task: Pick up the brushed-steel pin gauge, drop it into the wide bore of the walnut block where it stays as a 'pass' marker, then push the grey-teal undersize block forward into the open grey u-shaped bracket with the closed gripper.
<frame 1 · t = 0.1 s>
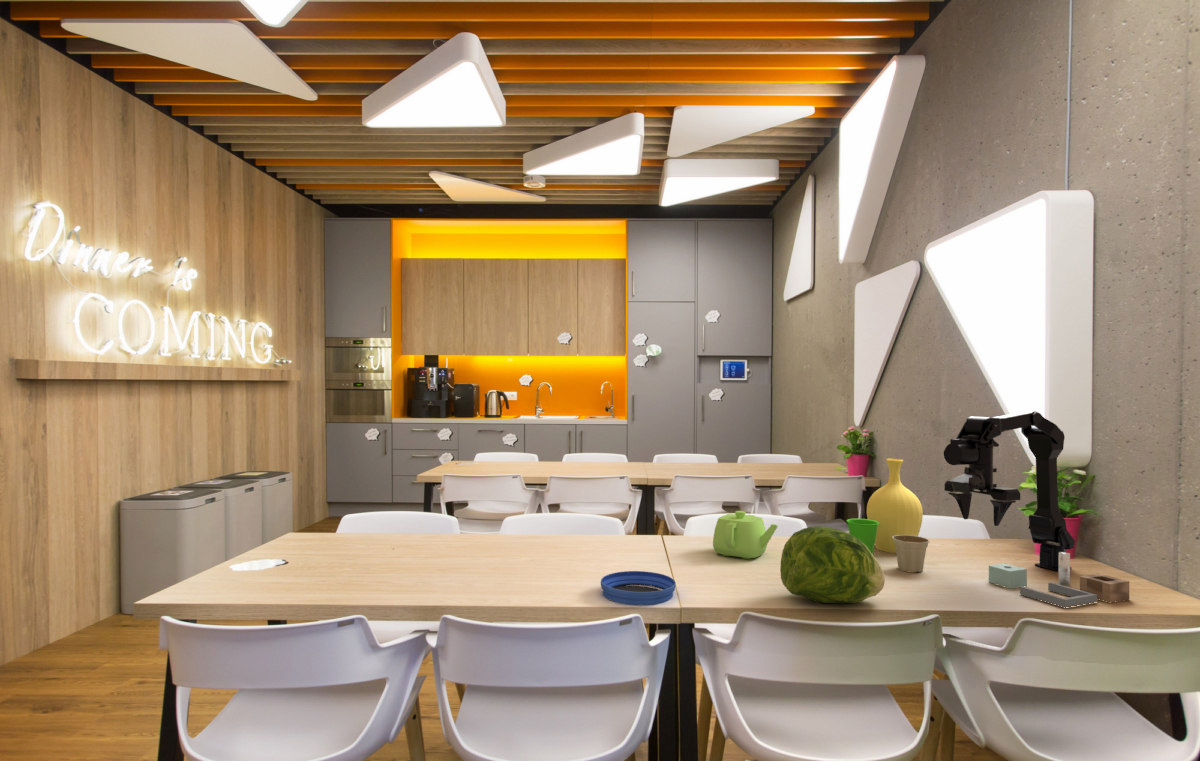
hand: (980, 522, 180), 15 cm above the table, fingers open, 9 cm apart
grey u-shaped bracket: (1057, 599, 162), on the table
vase: (894, 549, 211), on the table
pin gauge: (1064, 584, 175), on the table
bowl: (638, 596, 164), on the table
cup: (862, 559, 199), on the table
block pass: (1104, 597, 164), on the table
flower pot: (910, 570, 187), on the table
lettuce: (831, 601, 160), on the table
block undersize: (1007, 584, 174), on the table
teapot: (746, 556, 202), on the table
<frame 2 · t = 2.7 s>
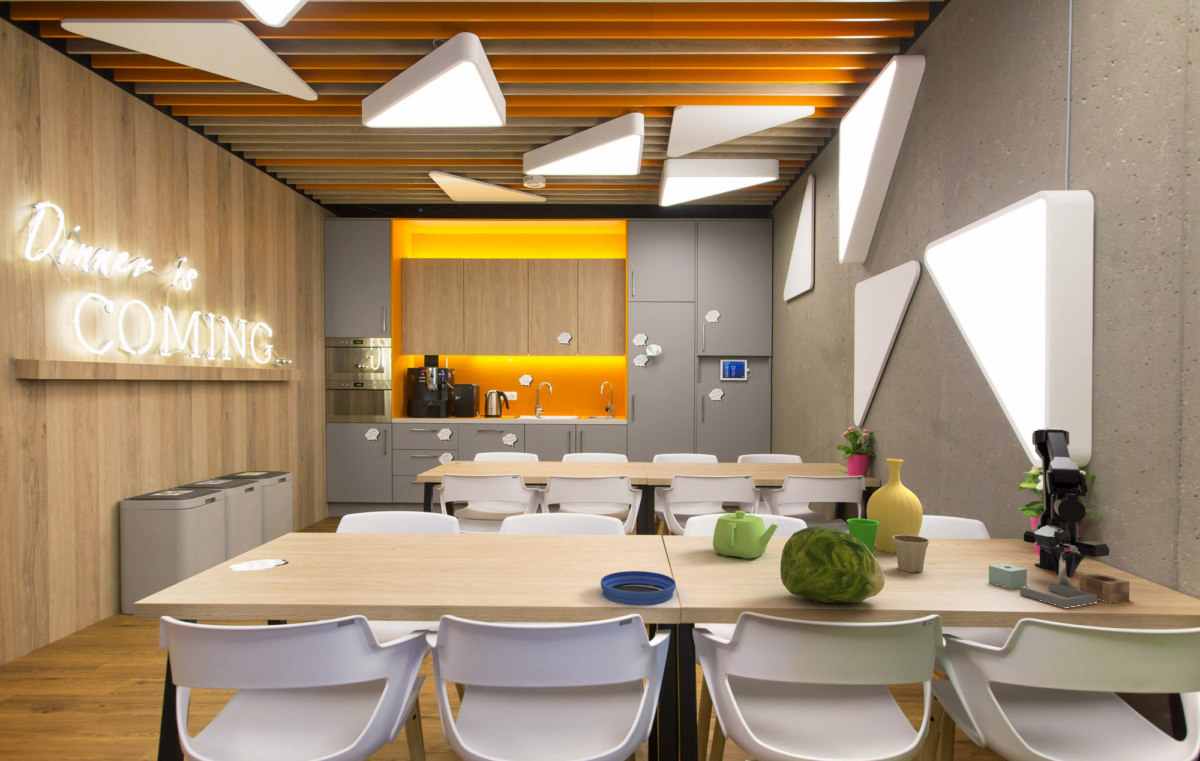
hand: (1064, 576, 175), 2 cm above the table, fingers closed on pin gauge, 2 cm apart
pin gauge: (1064, 584, 175), on the table, touching gripper
everything else where it was.
when the fingers open (5 cm above the table, at t = 6.1 s): pin gauge drops 3 cm, resting in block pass.
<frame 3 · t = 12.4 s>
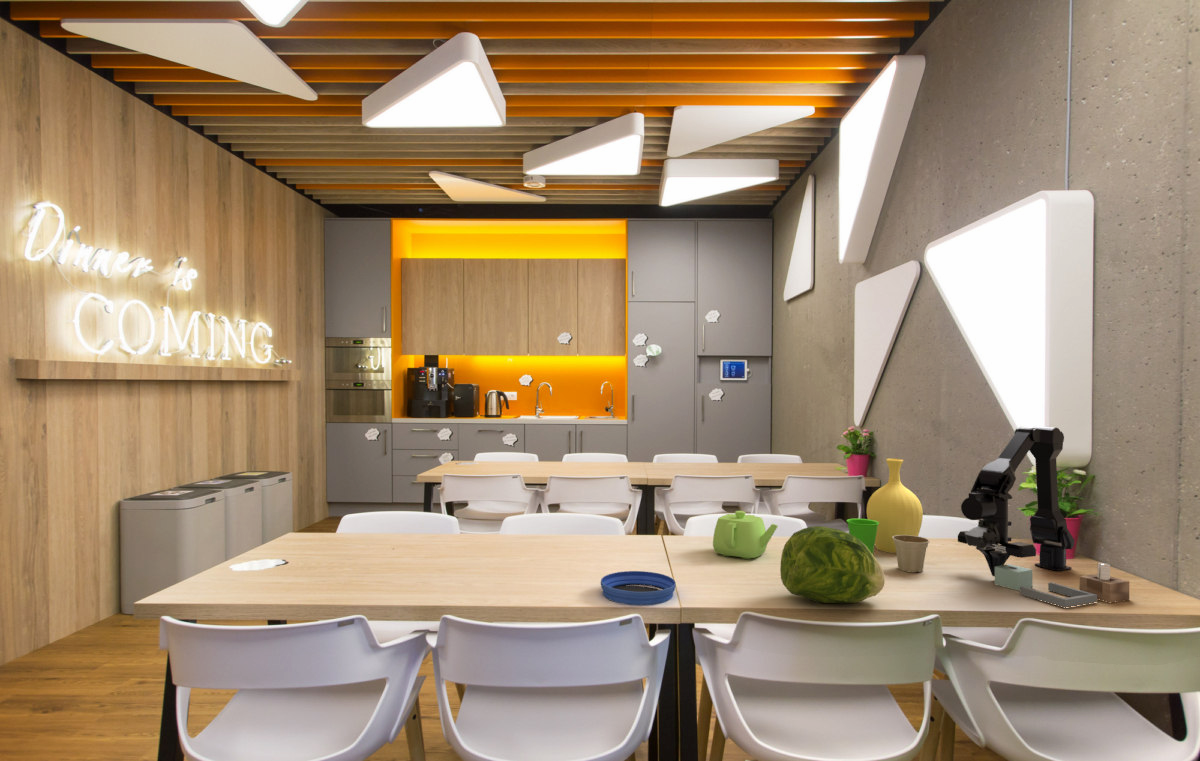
hand: (994, 576, 177), 1 cm above the table, fingers closed
pin gauge: (1103, 597, 164), resting in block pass
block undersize: (1013, 585, 173), on the table, touching gripper
everything else where it was.
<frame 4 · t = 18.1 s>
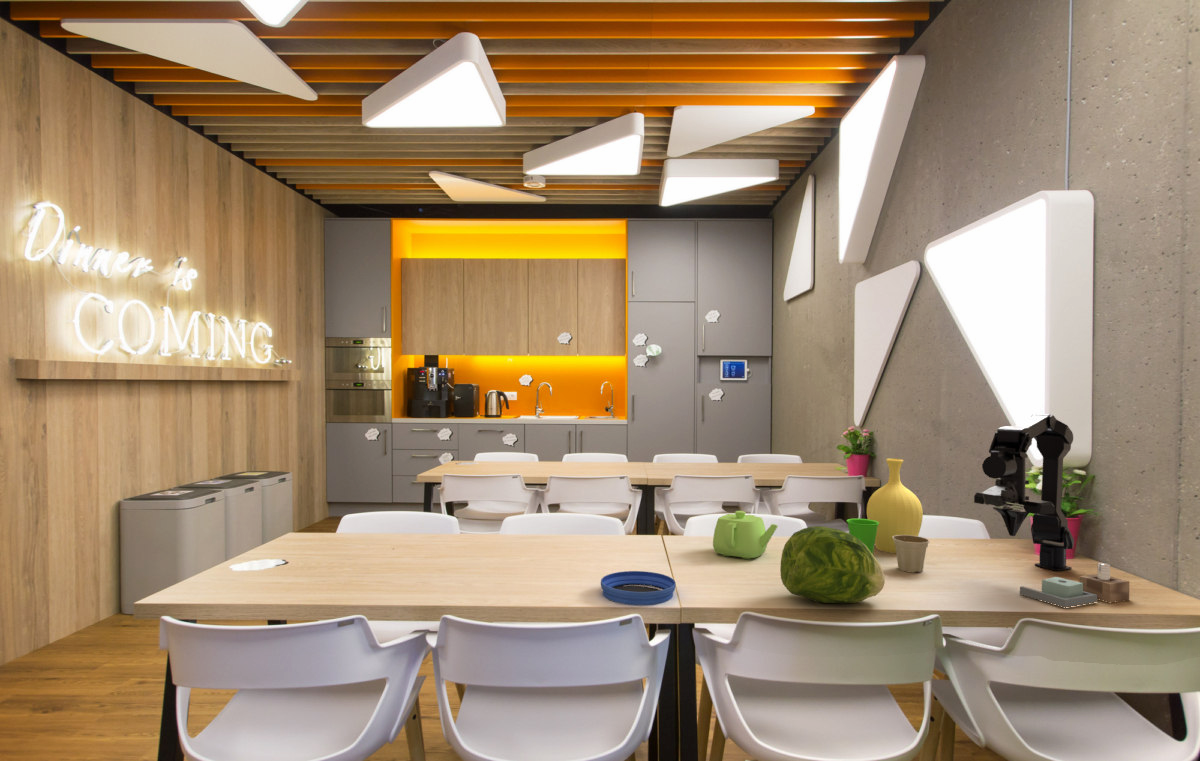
hand: (1012, 535, 176), 12 cm above the table, fingers closed
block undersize: (1062, 600, 162), resting in grey u-shaped bracket
everything else where it was.
at the end: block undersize inside the target area on the grey u-shaped bracket (0.8 cm from its centre), point 0.0 cm above the grey u-shaped bracket's base; pin gauge 0.1 cm off-centre on the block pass, point 0.0 cm above the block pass's base; the gripper is holding nothing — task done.
